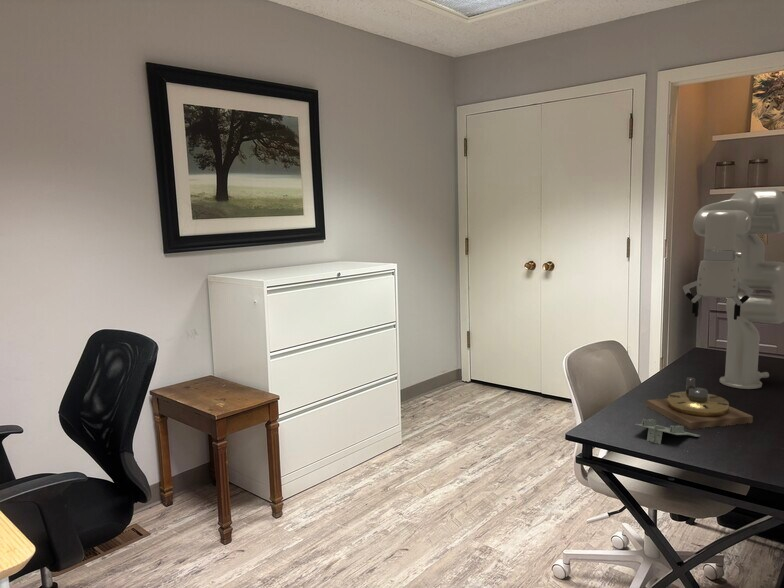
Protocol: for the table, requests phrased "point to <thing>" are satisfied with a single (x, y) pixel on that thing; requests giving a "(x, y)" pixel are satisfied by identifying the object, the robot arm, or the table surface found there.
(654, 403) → the base plate
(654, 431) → the metal bracket
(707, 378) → the table surface
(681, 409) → the rotary dial
